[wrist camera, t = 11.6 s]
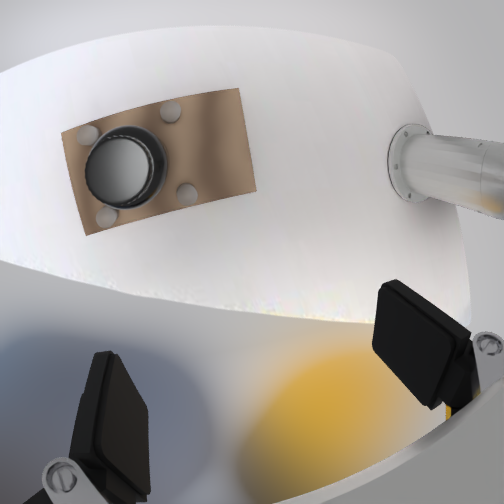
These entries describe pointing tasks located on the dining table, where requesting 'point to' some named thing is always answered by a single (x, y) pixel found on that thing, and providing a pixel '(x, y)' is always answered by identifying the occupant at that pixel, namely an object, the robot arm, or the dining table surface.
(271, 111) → the dining table surface
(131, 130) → the supplement bottle
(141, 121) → the peg board
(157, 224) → the dining table surface
